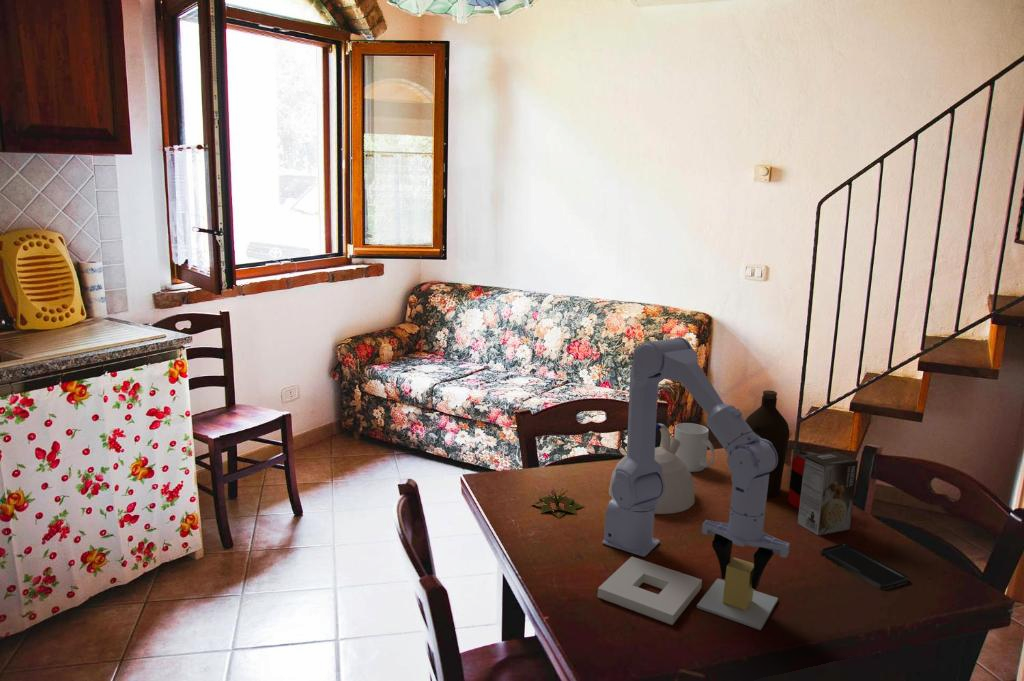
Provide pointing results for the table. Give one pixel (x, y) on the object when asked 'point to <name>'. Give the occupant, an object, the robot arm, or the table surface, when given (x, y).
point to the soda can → (797, 478)
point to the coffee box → (827, 492)
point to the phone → (864, 566)
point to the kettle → (670, 476)
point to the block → (738, 583)
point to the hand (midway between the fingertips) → (740, 581)
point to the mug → (693, 445)
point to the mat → (750, 616)
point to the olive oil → (771, 435)
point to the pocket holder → (659, 606)
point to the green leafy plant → (562, 500)
